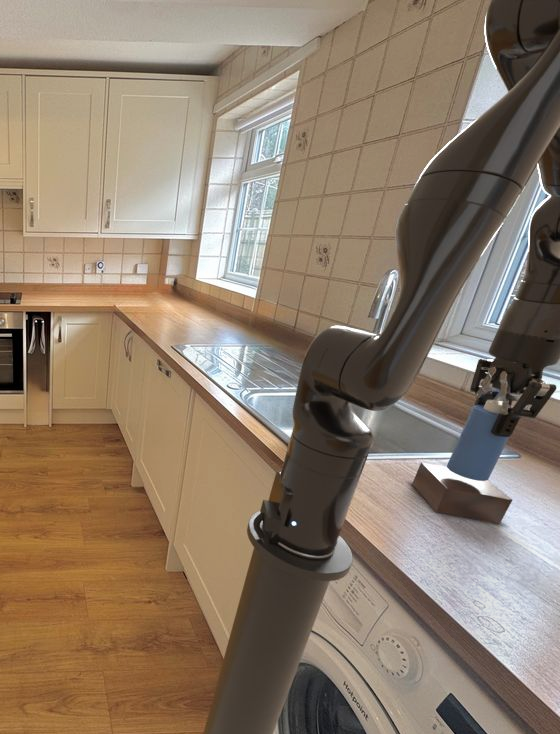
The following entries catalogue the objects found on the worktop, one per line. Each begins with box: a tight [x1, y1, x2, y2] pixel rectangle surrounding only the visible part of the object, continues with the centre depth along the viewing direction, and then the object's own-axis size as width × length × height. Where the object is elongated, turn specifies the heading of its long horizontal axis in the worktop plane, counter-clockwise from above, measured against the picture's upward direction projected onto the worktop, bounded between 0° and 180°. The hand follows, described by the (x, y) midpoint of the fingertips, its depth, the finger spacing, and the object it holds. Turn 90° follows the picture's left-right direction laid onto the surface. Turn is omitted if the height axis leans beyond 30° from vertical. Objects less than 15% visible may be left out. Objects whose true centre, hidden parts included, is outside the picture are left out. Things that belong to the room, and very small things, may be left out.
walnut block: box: [411, 462, 513, 525], centre depth 74 cm, size 9×9×5 cm
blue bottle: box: [446, 399, 513, 481], centre depth 70 cm, size 5×5×14 cm
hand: (488, 427), depth 69 cm, fingers closed on blue bottle, 5 cm apart
